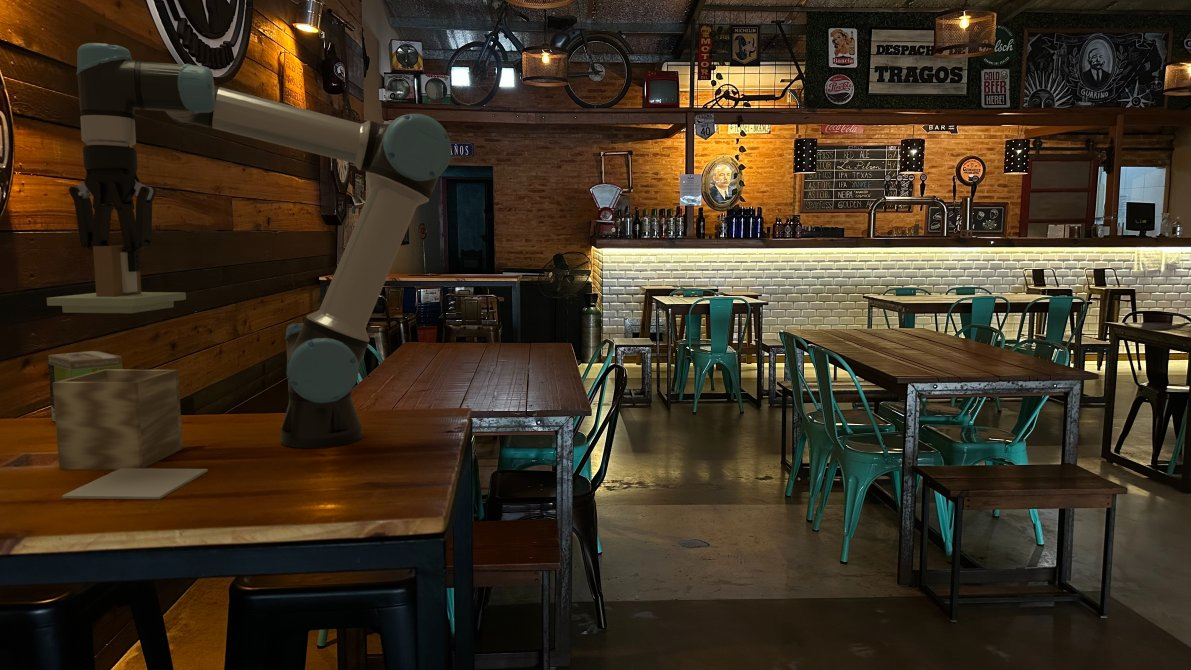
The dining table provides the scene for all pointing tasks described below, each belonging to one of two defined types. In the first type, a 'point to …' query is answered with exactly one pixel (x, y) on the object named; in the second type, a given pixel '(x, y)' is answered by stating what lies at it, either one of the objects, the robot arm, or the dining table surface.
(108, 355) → the tea box
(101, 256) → the lid
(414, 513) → the dining table surface
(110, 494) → the mat
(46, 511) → the dining table surface
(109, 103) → the robot arm
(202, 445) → the dining table surface
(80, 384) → the crate
